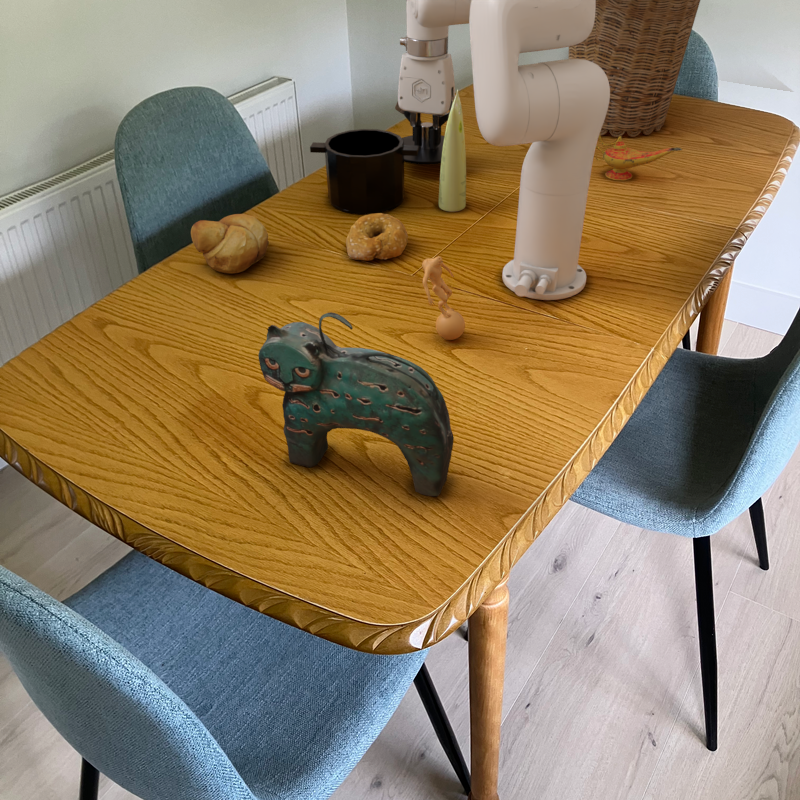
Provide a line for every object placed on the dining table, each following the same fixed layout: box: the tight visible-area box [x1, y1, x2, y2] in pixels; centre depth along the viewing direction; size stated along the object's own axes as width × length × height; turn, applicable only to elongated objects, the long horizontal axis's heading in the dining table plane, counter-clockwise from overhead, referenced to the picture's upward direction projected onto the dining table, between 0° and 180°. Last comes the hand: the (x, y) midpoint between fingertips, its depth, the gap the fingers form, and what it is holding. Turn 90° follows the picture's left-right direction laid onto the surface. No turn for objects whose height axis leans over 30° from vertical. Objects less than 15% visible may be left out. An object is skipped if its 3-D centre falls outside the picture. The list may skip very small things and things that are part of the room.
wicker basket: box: [567, 0, 701, 138], centre depth 163 cm, size 35×35×33 cm
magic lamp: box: [595, 135, 683, 181], centre depth 145 cm, size 7×18×11 cm, turn 64°
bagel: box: [345, 213, 409, 261], centre depth 125 cm, size 10×11×5 cm
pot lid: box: [401, 121, 445, 166], centre depth 150 cm, size 15×15×6 cm
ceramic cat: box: [258, 312, 455, 497], centre depth 79 cm, size 20×6×20 cm, turn 69°
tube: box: [437, 88, 467, 213], centre depth 133 cm, size 6×5×20 cm
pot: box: [309, 128, 419, 216], centre depth 139 cm, size 14×19×10 cm
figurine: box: [421, 255, 466, 341], centre depth 102 cm, size 8×6×12 cm
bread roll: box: [190, 213, 270, 274], centre depth 122 cm, size 13×10×8 cm
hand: (426, 145), depth 151 cm, fingers closed on pot lid, 2 cm apart
